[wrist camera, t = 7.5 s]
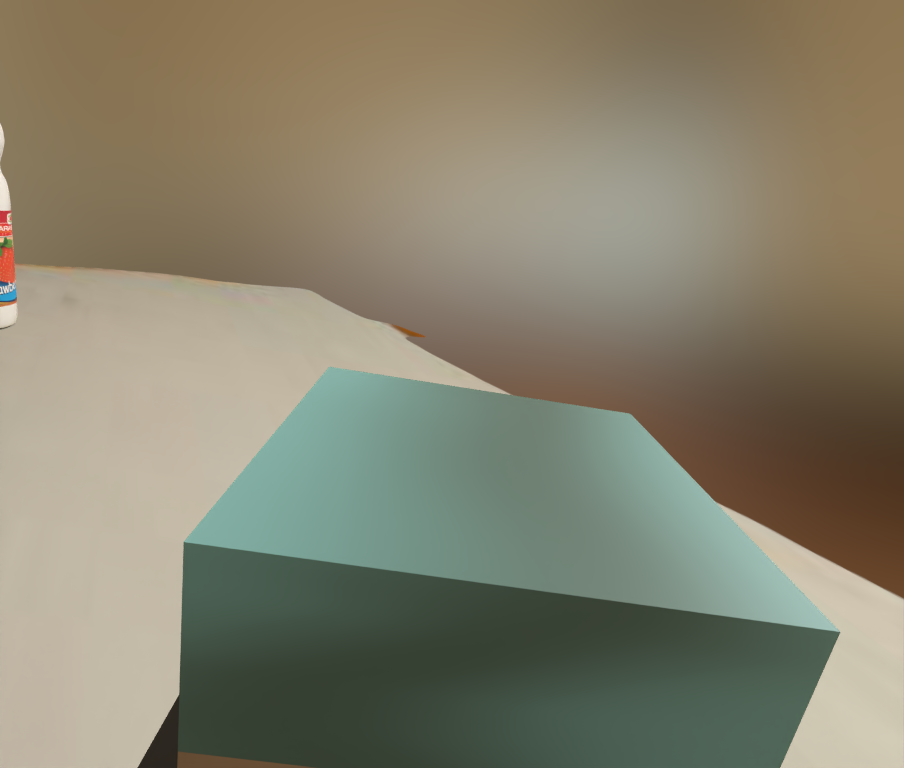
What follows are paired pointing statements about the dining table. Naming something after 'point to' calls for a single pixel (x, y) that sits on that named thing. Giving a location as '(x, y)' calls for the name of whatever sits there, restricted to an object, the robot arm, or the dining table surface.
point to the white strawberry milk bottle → (6, 254)
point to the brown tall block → (482, 597)
